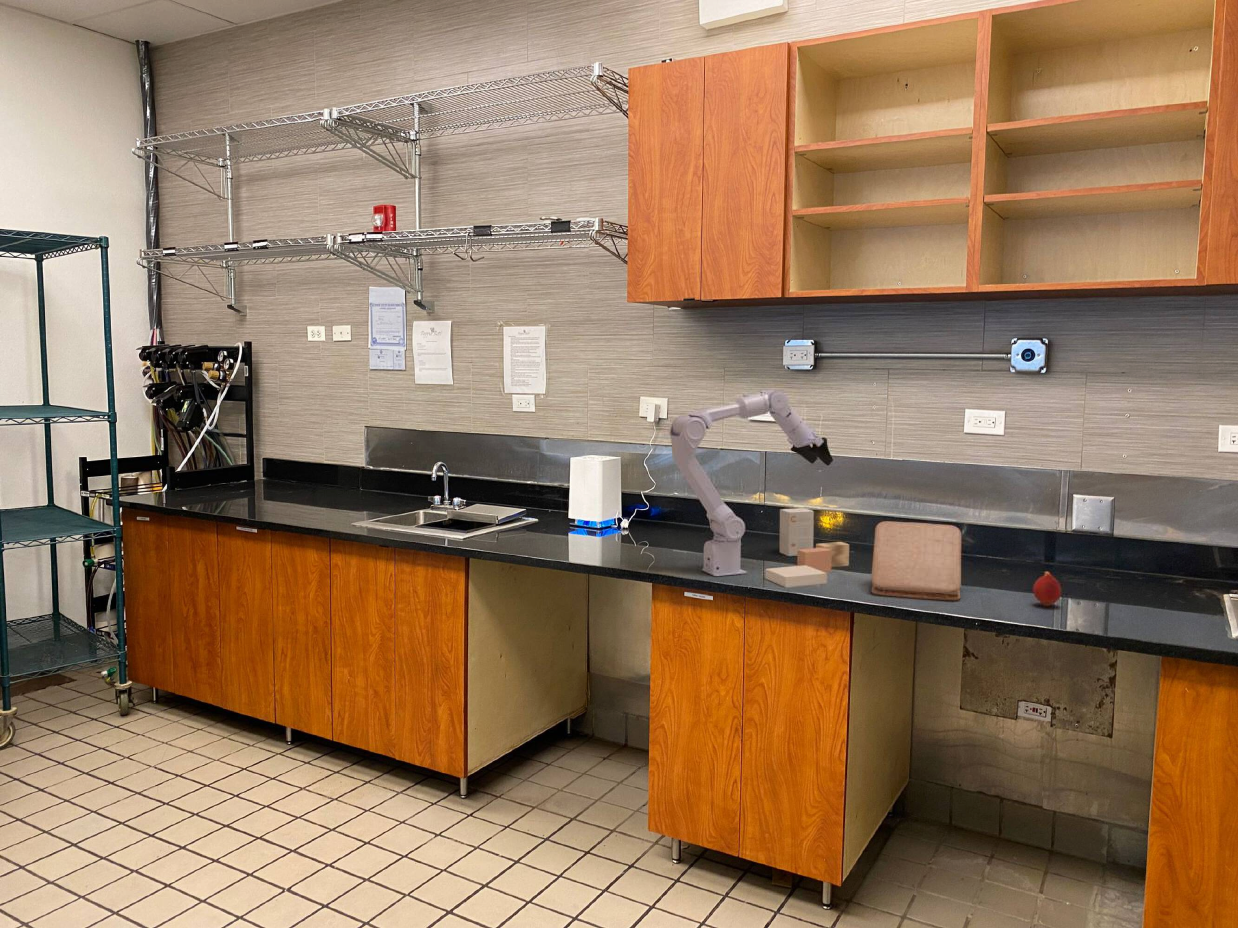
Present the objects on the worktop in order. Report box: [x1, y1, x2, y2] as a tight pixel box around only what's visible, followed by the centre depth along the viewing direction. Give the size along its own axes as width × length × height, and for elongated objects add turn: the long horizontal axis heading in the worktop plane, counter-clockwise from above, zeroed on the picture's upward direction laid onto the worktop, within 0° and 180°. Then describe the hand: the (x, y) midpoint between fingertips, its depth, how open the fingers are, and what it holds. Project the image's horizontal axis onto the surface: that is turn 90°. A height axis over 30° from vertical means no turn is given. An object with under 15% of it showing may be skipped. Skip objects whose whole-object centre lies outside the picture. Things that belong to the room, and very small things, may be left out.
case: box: [870, 520, 962, 602], centre depth 219 cm, size 20×21×16 cm
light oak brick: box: [815, 541, 850, 568], centre depth 246 cm, size 8×4×6 cm, turn 110°
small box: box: [779, 507, 815, 557], centre depth 261 cm, size 8×6×13 cm
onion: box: [1032, 571, 1062, 607], centre depth 203 cm, size 6×6×8 cm
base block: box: [765, 565, 828, 588], centre depth 229 cm, size 12×10×3 cm
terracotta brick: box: [796, 547, 832, 574], centre depth 238 cm, size 8×4×6 cm, turn 110°
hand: (822, 462), depth 244 cm, fingers open, 7 cm apart
